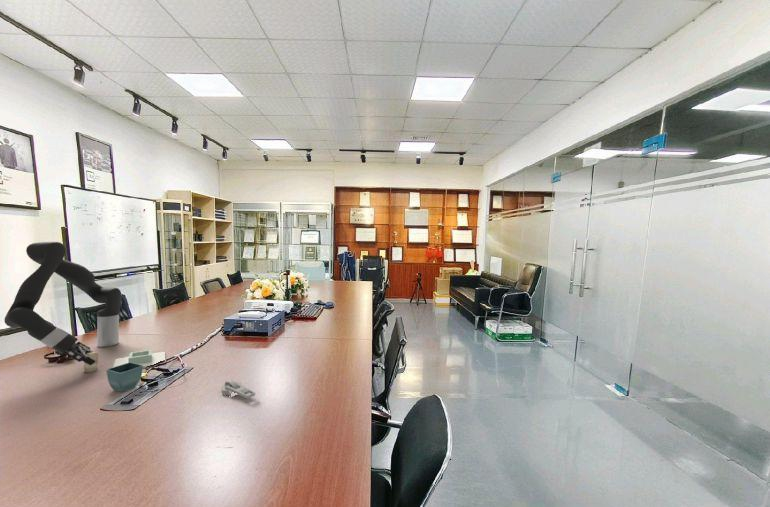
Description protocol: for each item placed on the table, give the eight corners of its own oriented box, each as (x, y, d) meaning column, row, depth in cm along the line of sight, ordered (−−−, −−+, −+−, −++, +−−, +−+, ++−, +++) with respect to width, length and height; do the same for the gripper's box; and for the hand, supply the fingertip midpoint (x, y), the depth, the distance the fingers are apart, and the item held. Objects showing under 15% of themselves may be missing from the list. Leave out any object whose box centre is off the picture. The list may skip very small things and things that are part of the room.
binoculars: (38, 344, 144) (62, 336, 154) (41, 365, 146) (64, 355, 156) (54, 345, 144) (77, 337, 153) (57, 366, 145) (80, 357, 155)
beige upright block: (85, 370, 140) (85, 353, 140) (98, 368, 143) (98, 351, 143) (83, 373, 137) (83, 356, 137) (96, 371, 140) (96, 354, 139)
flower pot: (143, 385, 127) (144, 365, 127) (119, 395, 119) (119, 373, 119) (129, 382, 130) (130, 361, 130) (105, 391, 122) (105, 369, 122)
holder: (115, 360, 152) (115, 352, 152) (164, 353, 164) (164, 345, 164) (111, 373, 138) (111, 363, 138) (165, 364, 150) (165, 355, 150)
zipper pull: (242, 406, 114) (242, 395, 114) (216, 392, 124) (216, 382, 124) (260, 398, 121) (260, 387, 121) (234, 385, 131) (235, 375, 130)
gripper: (64, 337, 129) (100, 358, 137) (71, 329, 141) (104, 349, 148) (45, 352, 126) (84, 372, 134) (55, 342, 138) (89, 362, 145)
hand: (94, 360), depth 141 cm, fingers open, 8 cm apart
